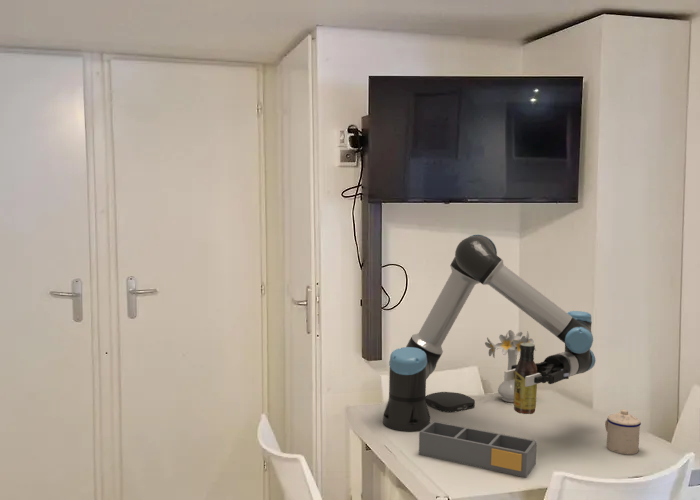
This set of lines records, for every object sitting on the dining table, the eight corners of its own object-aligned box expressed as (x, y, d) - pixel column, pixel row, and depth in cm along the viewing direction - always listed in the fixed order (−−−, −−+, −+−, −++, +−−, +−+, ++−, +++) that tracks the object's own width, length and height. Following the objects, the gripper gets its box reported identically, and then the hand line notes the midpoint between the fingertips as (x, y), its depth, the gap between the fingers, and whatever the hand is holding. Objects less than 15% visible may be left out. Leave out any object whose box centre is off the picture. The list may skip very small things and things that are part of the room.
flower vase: (477, 397, 243) (480, 329, 241) (519, 392, 250) (522, 326, 248) (499, 408, 231) (501, 337, 229) (542, 403, 238) (545, 333, 236)
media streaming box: (452, 397, 245) (452, 389, 244) (479, 408, 232) (479, 399, 232) (420, 402, 237) (420, 394, 237) (446, 414, 225) (446, 406, 224)
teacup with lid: (646, 453, 193) (648, 414, 192) (619, 456, 190) (622, 416, 189) (618, 438, 204) (620, 401, 203) (592, 441, 201) (594, 403, 200)
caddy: (418, 454, 188) (418, 432, 188) (432, 442, 198) (433, 421, 198) (525, 478, 174) (526, 453, 174) (535, 463, 184) (536, 440, 183)
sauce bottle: (512, 407, 196) (514, 340, 194) (534, 408, 195) (536, 341, 194) (514, 414, 189) (517, 345, 188) (537, 416, 189) (539, 346, 187)
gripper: (588, 385, 196) (545, 400, 181) (532, 371, 211) (487, 384, 195) (589, 360, 196) (546, 373, 181) (533, 348, 210) (488, 359, 195)
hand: (515, 379), depth 188 cm, fingers closed on sauce bottle, 6 cm apart
